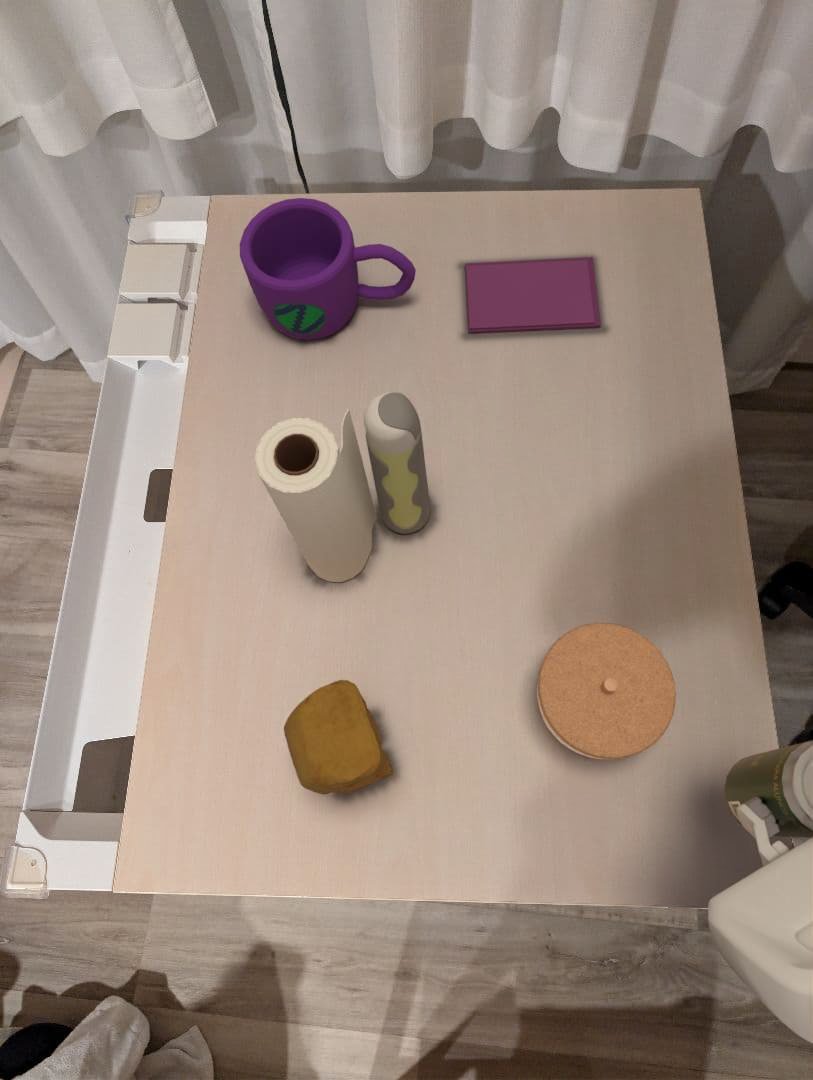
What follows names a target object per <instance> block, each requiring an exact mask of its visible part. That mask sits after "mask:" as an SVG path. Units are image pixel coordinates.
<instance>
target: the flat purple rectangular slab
mask: <svg viewBox="0 0 813 1080" xmlns="http://www.w3.org/2000/svg"><path fill="white" fill-rule="evenodd" d="M464 273H465V274H464V275H465V290H466V291H465V293H466V311H467V314H466V315H467V332H468V334H488V333H489V334H491V333H507V332H508V333H510V332H513V333H514V332H531V331H532V332H533V331H555V330H575V329H577V330H578V329H596V328H597V329H598V328H601V327H602V322H601V314H600V304H599V298H598V290H597V281H596V273H595V265H594V257H593V256H586V257H568V258H567V257H566V258H565V257H564V258H547V259H530V260H529V259H528V260H527V259H526V260H507V261H506V260H505V261H489V262H469V263H468V262H467V263H466V262H465V263H464Z"/></svg>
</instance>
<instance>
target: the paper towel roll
mask: <svg viewBox="0 0 813 1080" xmlns="http://www.w3.org/2000/svg"><path fill="white" fill-rule="evenodd" d="M340 432H341V433H340V435H341V437H340V438H341V447H340V448H339V445H338V443H337V440H336V437H335V435H334V433H333V432H332V431H330V429H329V428H328V427H327V426H325V424H324V423H322V422H319V421H316V420H314V419H311V418H309V417H290V418H287V419H285V420H283V421H282V420H281V421H279V422H276V423H275V424H274V425H273V426H272V427H270V428H269V429H268V430H267V431H266V432H264V433H263V435H262V437H261V439H260V440H259V441H258V443H257V445H256V450H255V457H254V464H255V467H256V471H257V473H258V476H259V478H260V481H261V482H262V484H263V485H264V487H265V489H266V491H267V493H268V494H269V496H270V498H271V500H272V502H273V504H274V505H275V507H276V508H277V511H278V513H279V514H280V516H281V518H282V520H283V522H284V523H285V525H286V527H287V528H288V530H289V533H290V534H291V537H292V538H293V539H294V542H295V543H296V545H297V547H298V549H299V551H300V552H301V554H302V556H303V558H304V559H305V561H306V563H307V566H309V568H310V569H311V571H312V572H313V573H314V574H315V575H316V576H317V577H318V578H320V579H322V580H324V581H327V582H329V583H343V582H346V581H349V580H352V579H354V578H355V577H356V576H357V575H359V574H360V573H361V572H362V571H363V570H364V568H365V566H366V563H367V562H368V560H369V556H370V554H371V552H372V549H373V530H374V529H373V528H374V524H375V522H376V521H377V514H376V509H375V505H374V500H373V497H372V493H371V490H370V486H369V483H368V482H369V481H368V477H367V473H366V470H365V466H364V461H363V458H362V453H361V450H360V446H359V442H358V439H357V437H358V436H357V434H356V430H355V425H354V422H353V418H352V413H351V410H350V408H347V410H346V411H345V414H344V415H343V418H342V424H341V427H340Z"/></svg>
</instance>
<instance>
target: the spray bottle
mask: <svg viewBox="0 0 813 1080" xmlns="http://www.w3.org/2000/svg"><path fill="white" fill-rule="evenodd" d="M363 412H364V413H363V424H364V430H365V434H364V436H365V442H366V447H367V453H368V457H369V463H370V467H371V472H372V477H373V482H374V483H373V484H374V487H375V492H376V497H377V502H378V507H379V512H380V513H379V514H380V517H381V520H382V522H383V524H384V525H385V526H386V527H387V528H388V529H389V530H391V531H393V532H395V533H397V534H402V535H403V534H404V535H405V534H412V533H415V532H418V531H419V530H421V529H422V528H423V527H424V526H425V525H426V524H427V522H428V521H429V519H430V516H431V502H430V501H431V500H430V495H429V494H430V493H429V485H428V476H427V475H428V474H427V468H426V460H425V451H424V450H425V449H424V443H423V442H424V441H423V433H422V426H421V421H420V417H419V414H418V412H417V410H416V407H415V406H414V405H413V403H412V402H411V400H410V399H409V398H408V397H407V396H406V395H405V394H403V393H401V392H396V391H385V392H382V393H380V394H377V395H376V396H375V397H373V398H371V400H370V401H369V402H368V404H367V405H366V407H365V409H364V411H363Z"/></svg>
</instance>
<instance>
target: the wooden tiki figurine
mask: <svg viewBox="0 0 813 1080" xmlns="http://www.w3.org/2000/svg"><path fill="white" fill-rule="evenodd" d="M379 730H380V729H379V728H378V725H377V722H376V721H375V717H374V715H373V714H372V713H371V711H370V710H369V708H368V706H367V703H366V701H365V699H364V697H363V695H362V694H361V691H360V689H359V688H358V686H357V685H356V684H355V683H354V682H352V681H350V680H348V679H339V680H334V681H332V682H331V683H328V684H326V685H323V686H321V687H319V688H317V689H316V690H314V691H312V692H311V693H310V694H308V695H307V697H305V698H304V699H303V700H302V701H300V703H298V704H297V706H296V707H295V708H294V709H293V710H292V711H291V712H290V714H289V715H288V717H287V719H286V721H285V723H284V725H283V733H284V737H285V741H286V744H287V747H288V753H289V755H290V758H291V761H292V765H293V767H294V770H295V773H296V775H297V779H298V781H299V784H300V786H301V787H302V788H304V789H306V790H308V791H311V792H313V793H316V794H320V795H324V796H325V795H330V794H334V793H338V792H339V793H340V795H346V794H349V793H351V792H354V791H356V790H358V789H361V788H363V787H366V786H368V785H370V784H373V783H376V782H377V781H380V780H382V779H384V778H387V777H389V776H391V775H393V774H394V773H393V769H392V768H393V767H392V765H391V763H390V762H391V761H390V760H389V759H388V755H387V753H385V750H384V748H383V741H382V737H381V736H382V735H381V734H380V731H379Z"/></svg>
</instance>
